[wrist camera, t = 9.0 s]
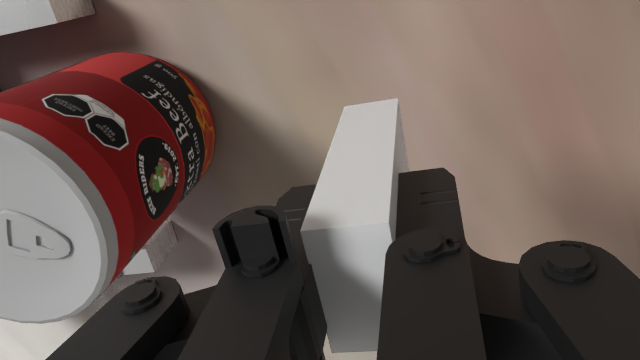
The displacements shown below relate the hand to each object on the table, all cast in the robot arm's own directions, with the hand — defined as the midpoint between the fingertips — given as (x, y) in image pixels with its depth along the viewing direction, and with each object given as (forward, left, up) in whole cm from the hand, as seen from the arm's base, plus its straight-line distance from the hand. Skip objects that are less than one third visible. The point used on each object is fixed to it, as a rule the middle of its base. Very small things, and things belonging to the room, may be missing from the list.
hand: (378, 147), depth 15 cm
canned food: (+1, -13, -10) cm, 16 cm away
